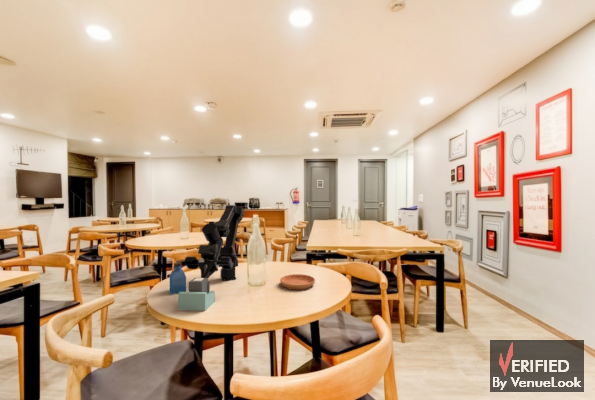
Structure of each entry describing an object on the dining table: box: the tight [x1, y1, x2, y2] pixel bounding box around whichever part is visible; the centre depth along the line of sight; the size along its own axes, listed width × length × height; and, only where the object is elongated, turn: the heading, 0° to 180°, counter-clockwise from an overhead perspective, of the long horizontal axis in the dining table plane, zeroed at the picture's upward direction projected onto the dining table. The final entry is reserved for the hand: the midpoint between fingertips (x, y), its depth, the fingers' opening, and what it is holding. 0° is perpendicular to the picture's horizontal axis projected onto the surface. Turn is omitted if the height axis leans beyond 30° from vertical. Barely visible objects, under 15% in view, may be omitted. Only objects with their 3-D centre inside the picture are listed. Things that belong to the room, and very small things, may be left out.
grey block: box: [188, 277, 211, 294], centre depth 97 cm, size 6×6×9 cm
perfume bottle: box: [169, 261, 187, 295], centre depth 111 cm, size 6×6×12 cm
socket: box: [177, 290, 216, 312], centre depth 95 cm, size 9×10×6 cm
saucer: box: [279, 273, 316, 291], centre depth 119 cm, size 16×16×3 cm
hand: (202, 282), depth 100 cm, fingers closed, pressing on grey block
